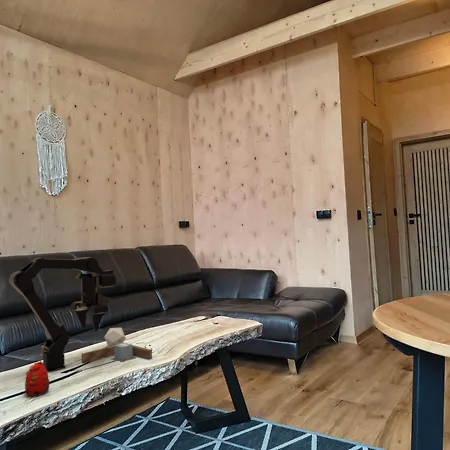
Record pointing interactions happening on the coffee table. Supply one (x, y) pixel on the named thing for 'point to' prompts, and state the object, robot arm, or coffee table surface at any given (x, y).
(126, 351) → the cube
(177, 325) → the coffee table surface
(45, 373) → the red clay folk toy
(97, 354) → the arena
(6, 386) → the coffee table surface
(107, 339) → the die
